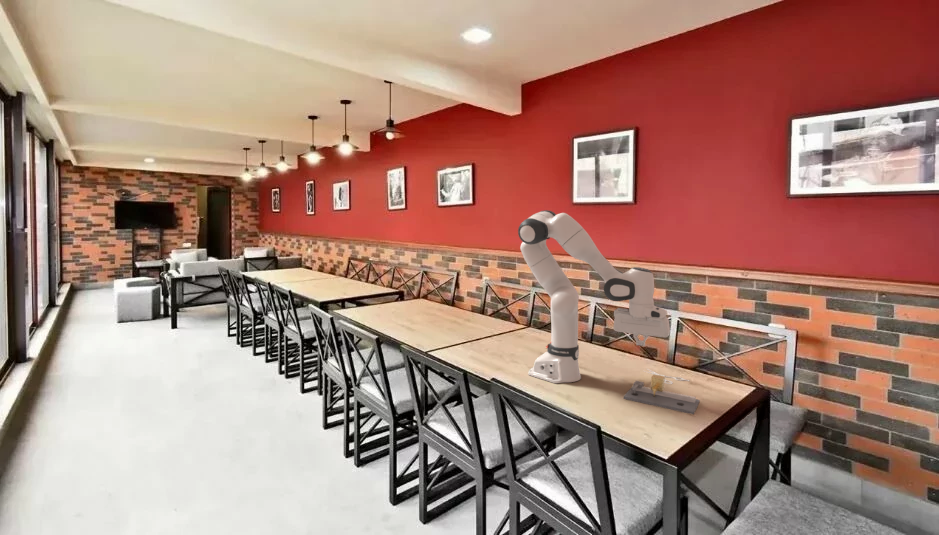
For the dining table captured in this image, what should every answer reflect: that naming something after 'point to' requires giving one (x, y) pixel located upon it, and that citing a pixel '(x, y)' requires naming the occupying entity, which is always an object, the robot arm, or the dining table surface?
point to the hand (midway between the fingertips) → (640, 345)
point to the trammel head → (657, 383)
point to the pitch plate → (662, 398)
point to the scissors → (669, 377)
